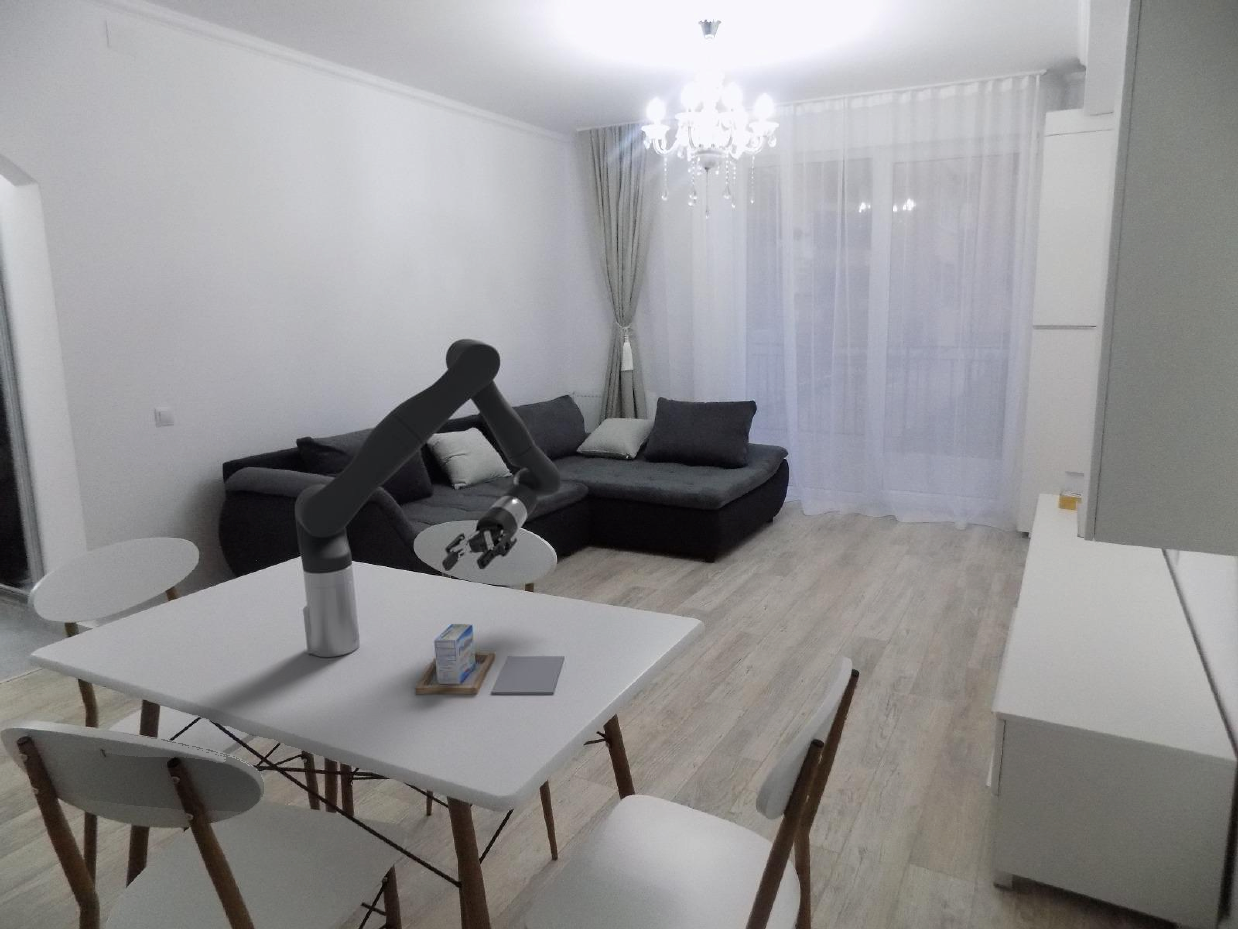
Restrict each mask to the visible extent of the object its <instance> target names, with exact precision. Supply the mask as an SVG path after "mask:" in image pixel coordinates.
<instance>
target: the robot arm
mask: <svg viewBox="0 0 1238 929" xmlns="http://www.w3.org/2000/svg"><path fill="white" fill-rule="evenodd" d="M445 365H446V369H447V370H446V371H445V372H444V373H443V374H442V375H441V376H440V378H439V379H437V380H436V381H435V382H434V383H433V384H430V385H429V386H428V387H427V388H425V389H424V390H422V391H420V392H418V393H416V394H414V395H413V396H411V397H410V398H407V399H406V400H404V401H402V402H401V403H400V404H399V405H397V406H396V407H394V409H392V410H390V412H389V413H388V414H387V415H386V416H385V417H384V418H383V419H381V421H380V422H379V423H378V424H377V425H376V426H375V427H374V428H373V429H372V430H371V431H370V433H369V434H368V435H367V437H366V438H365V439H364V441H363V443H362V444H361V446H360V447H359V449H358V451H357V452H356V454H355V455H354V457H353V458H352V460H351V461H350V463H349V464H348V465H346V466H345V468H344V469H343V470H342V471H341V472H340V473H339V474H338V475H337V476H336V477H334V478H333V479H332V480H331V481H330V482H328V483H327V484H314V485H310V486H308V487H306V488H305V489H304V490H302V491H301V493H299V495H298V497H297V498H296V501H295V504H294V516H295V518H294V519H295V528H296V533H297V543H298V549H299V554H300V557H301V558H300V559H301V563H302V572H303V580H304V581H303V582H304V590H305V597H306V598H305V601H306V605H305V606H304V607H303V609H302V612H303V614H302V615H303V624H304V632H305V641H306V650H307V654H308V655H314V656H316V657H322V658H329V657H330V658H332V657H338V656H344V655H346V654H350V653H352V652H354V651H356V650H357V649H359V647H360V633H359V622H358V611H357V600H356V599H357V598H356V590H355V580H354V571H353V570H354V569H353V559H352V558H353V557H352V552H351V548H350V544H349V540H348V536H347V528H346V527H347V526H348V525H349V523H350V522H351V521H352V519H353V518H354V517H355V516H356V515H357V513H359V511H360V509H362V508H363V506H364V505H365V504H366V502H367V501H368V500H369V499H370V497H372V495H373V494H374V493H375V492H376V491H377V490H378V489H379V488H380V487H382V485H383V484H384V483H386V482H387V481H388V480H389V479H390V478H391V477H393V475H395V473H396V472H397V471H399V469H401V468H402V466H403V465H405V464H406V463H407V462H408V461H409V460H410V459H411V458H413V457H414V455H415V454H416V453H417V452H419V450H420V449H421V448H423V447H424V445H426V444H427V442H428V441H429V440H430V439H431V438H432V437H433V435H434V434H436V433H437V432H438V431H439V430H440V429H441V427H442V426H443V425H445V424H446V423H447V421H448V420H450V418H452V416H453V415H454V414H455V413H456V412H457V411H458V410H459V409H460V408H461V407H462V406H463V405H464V404H466V403H467V402H469V400H471V401H472V404H474V405H475V407H476V408H477V410H478V411H479V413H480V414H481V416H482V417H483V419H484V421H485V422H486V424H487V426H488V428H489V429H490V431H491V433H492V435H493V436H494V438H495V440H496V442H497V443H498V445H499V448H501V450H502V451H501V452H503V454H504V456H505V458H506V460H507V461H508V463H509V464H510V465H512V466H514V467H520V468H521V467H522V468H521V469H520V470H518V471H517V472H516V473H515V474H514V476H513V478H512V480H511V483H510V484H509V488H508V490H507V491H506V492H505V493H504V494H503V495H502V496H501V497H500V499H498V500H496V501H495V502H494V503H493V504H492V506H491V507H490V508H488V509H487V511H486V512H485V513H484V514H483V515H482V516H481V517H479V519H478V521H477V524H476V527H475V531H474V532H473V533H471V534H470V535H469V536H466V535H465V534H464V532H463V533H462V532H461V533H459V534H458V535H457V536H456V537H455V538H454V539H453V540H452V541H451V542H450V543H449V544H448V545H447V546H446V547H445V548H444V551H445V552H446V557H445V558H444V559H443V560H442V561H441V564H442V566H443V569H444V570H445V571H446V572H449V571H450V570H452V569H453V567H454V566H455V565H457V563H458V562H459V561H460V560H463V558H465V557H466V558H470V557H472V556H473V555H475V554H478V553H482V554H481V555H480V556H479V557H478V559H477V560H476V564H477V567H478V569H479V570H485V569H486V568H487V566H489V564H490V563H491V562H492V561H493V560H494V559H498V557H499V556H501V557H502V558H503V557H506V556H507V555H508V553H510V551H512V549H513V547H515V544H516V543H517V542H518V538H517V536H516V534H517V532H518V531H519V530H520V528H522V526H523V525H524V524H525V521H526V520H527V518H528V517H529V516H530V515H531V514H532V513H533V511H534V510H535V508H536V507H537V504H538V498H540V497H547V496H552V495H555V494H557V493H558V492H559V491H560V488H561V485H562V478H561V474H560V471H559V469H558V468H557V466H556V465H555V463H554V462H553V461H552V460H551V459H550V458H549V457H548V456H547V455H546V454H545V452H543V451H542V449H541V448H539V447H538V445H536V443H535V440H534V439H533V437H532V436H531V434H530V432H529V430H528V428H527V426H526V425H525V423H524V422H523V420H522V419H521V417H520V415H519V414H518V413H517V412H516V411H515V409H514V408H513V407H512V406H511V404H510V403H509V402H508V401H507V400H506V398H505V397H504V396H503V394H502V393H501V391H500V390H499V388H498V386H497V385H496V383H495V381H494V380H495V378H496V376H497V375H498V373H499V371H500V368H501V356H500V353H499V352H498V350H497V349H496V347H494V346H493V345H492V344H490V343H487V342H485V341H482V340H478V339H471V338H462V339H458V340H456V341H454V342H452V344H450V345H449V347H448V349H447V351H446V354H445ZM467 545H468V546H467ZM467 547H469V548H470V550H468V548H467Z"/></svg>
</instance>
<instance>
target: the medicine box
mask: <svg viewBox="0 0 1238 929" xmlns="http://www.w3.org/2000/svg"><path fill="white" fill-rule="evenodd" d="M474 641H475V640H474V628H473V624H467V623H466V624H465V623H451V624H450V625H449V626H448V627H447V628H446V629H445V630H444V631H443V632H442V633H441V634H440V635H439V636H437V637H436V639H434V641H433V642H434V643H433V644H434V653H435V655H434V656H435V658H436V669H437V670H436V677H437V684H438V685H462V684H463V682H464V681H465V680H466V678H467V677H468V676H469V675H470V674H471V672H473V670H474V669H475V668H476V661H475V653H476V652H475V642H474ZM435 658H434V659H435Z"/></svg>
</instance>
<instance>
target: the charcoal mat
mask: <svg viewBox="0 0 1238 929" xmlns="http://www.w3.org/2000/svg"><path fill="white" fill-rule="evenodd" d="M564 660H565V656H563V655H561V656H560V655H556V656H555V655H554V656H553V655H552V656H550V655H542V656H539V655H538V656H537V655H536V656H534V655H532V656H529V655H527V656H526V655H525V656H521V655H520V656H517V655H516V656H514V655H513V656H512V655H511V656H510V655H509V656H507V657H506V659H505V662H504V663H503V665H502V668H501V670H500V672H499V674H498V676H497V678H496V680H495V683H494V685H493V687H492V689H491V691H490V694H491V695H554V694H555V690H556V687H557V685H558V681H559V677H560V674H561V671H562V668H563V663H564Z"/></svg>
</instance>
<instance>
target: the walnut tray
mask: <svg viewBox="0 0 1238 929" xmlns="http://www.w3.org/2000/svg"><path fill="white" fill-rule="evenodd" d="M495 653H496V652H475V662H476V661H482V662H483V661H484V662H483V664H482V666H481V668H480V670H479V672H478V674H477V675H476V677H475V679H474V681H473V684H472V685H471V684H470V685H469V684H467V685H466V684H465V685H463V684H461V685H449V684H438V685H437V684H435V685H432V684H431V685H429V683H430V682H431V679H432V678H433V676H434V675H435V673H437V669H436V658H433V660H432V661H431V663H430V665H429V666H428V668H427V670H425V672H424V673H423V675H422V677H421V678H420V680H419V681H418V682H417V684H416V685H415V687H414V693H415V695H478V693H479V691H480V690H481V687H482V685H483V683H484V681H485V679H486V677H487V675H488V673H489V671H490V669H491V668H492V665H493V663H494V661H495V660H496V654H495Z"/></svg>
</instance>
